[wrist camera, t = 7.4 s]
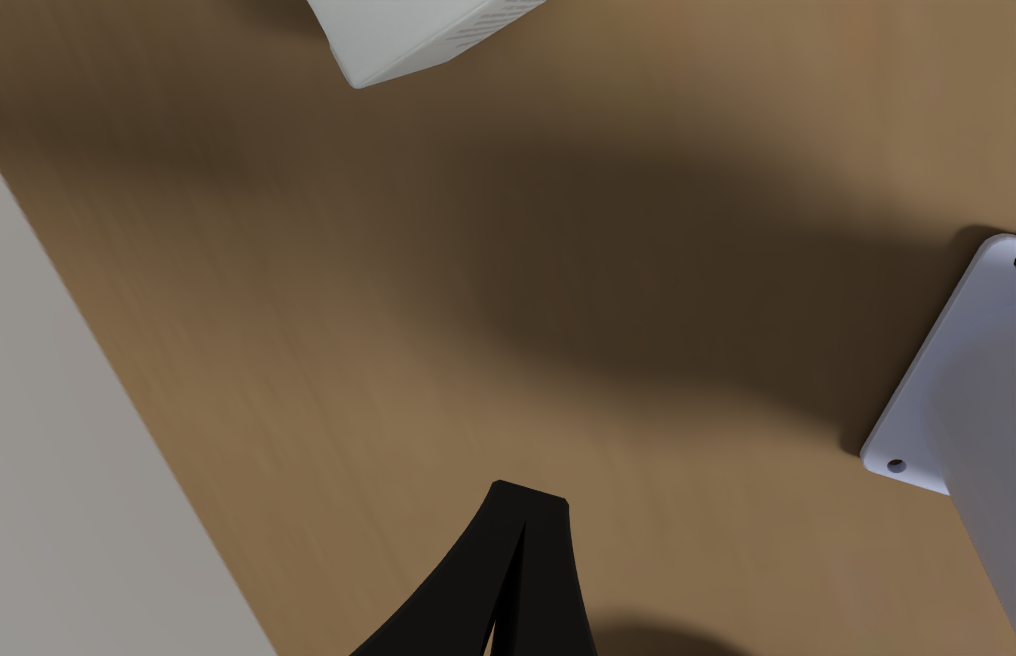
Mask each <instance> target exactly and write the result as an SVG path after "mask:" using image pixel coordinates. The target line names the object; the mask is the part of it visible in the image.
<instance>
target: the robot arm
mask: <svg viewBox="0 0 1016 656" xmlns="http://www.w3.org/2000/svg"><path fill="white" fill-rule="evenodd" d="M1015 258H1016V235H1013V234H1004V233H1002V234H998V235H994V236H992V237H990V238H988V239H987V240H985V241H984V242H983V244H982V245H981V246H980V247H979V249H978V251H977V252H976V254H975V256H974V258H973V259H972V261H971V263H970V264H969V266H968V268H967V270H966V271H965V273H964V275H963V276H962V278H961V280H960V281H959V283H958V285H957V287H956V288H955V290H954V292H953V293H952V295H951V297H950V299H949V300H948V302H947V304H946V305H945V307H944V309H943V310H942V312H941V314H940V316H939V317H938V319H937V321H936V322H935V324H934V326H933V328H932V329H931V331H930V333H929V334H928V336H927V338H926V339H925V341H924V343H923V345H922V346H921V348H920V350H919V351H918V353H917V355H916V357H915V358H914V360H913V362H912V363H911V365H910V367H909V368H908V370H907V372H906V374H905V375H904V377H903V379H902V380H901V382H900V384H899V386H898V387H897V389H896V391H895V392H894V394H893V396H892V398H891V399H890V401H889V403H888V404H887V406H886V408H885V409H884V411H883V413H882V415H881V416H880V418H879V420H878V421H877V423H876V425H875V427H874V428H873V430H872V432H871V433H870V435H869V437H868V438H867V440H866V442H865V444H864V445H863V447H862V449H861V451H860V458H861V461H862V464H863V466H864V467H865V468H866V469H867V470H869V471H871V472H873V473H877V474H880V475H883V476H886V477H890V478H893V479H896V480H900V481H903V482H906V483H909V484H913V485H916V486H919V487H922V488H926V489H929V490H932V491H936V492H939V493H942V494H945V495H949V496H951V498H952V501H953V503H954V505H955V507H956V509H957V511H958V513H959V515H960V518H961V520H962V522H963V524H964V526H965V528H966V530H967V532H968V534H969V537H970V539H971V541H972V543H973V545H974V547H975V549H976V551H977V554H978V556H979V558H980V560H981V562H982V564H983V566H984V568H985V571H986V573H987V575H988V577H989V579H990V581H991V583H992V585H993V587H994V590H995V592H996V594H997V596H998V598H999V600H1000V602H1001V604H1002V607H1003V609H1004V611H1005V613H1006V615H1007V617H1008V619H1009V621H1010V624H1011V626H1012V628H1013V630H1014V632H1015V634H1016V265H1014V260H1015ZM895 459H899V460H902V462H901V463H900V464H897V465H889V464H888V463H889V462H890V461H891V460H895ZM495 620H496V621H495ZM494 623H495V628H494V634H493V641H492V647H491V654H490V656H598V655H597V652H596V649H595V645H594V642H593V638H592V635H591V631H590V627H589V623H588V620H587V616H586V612H585V607H584V603H583V599H582V594H581V590H580V585H579V581H578V576H577V571H576V565H575V559H574V553H573V547H572V539H571V531H570V519H569V504H568V503H567V501H566V499H565V498H561V497H558V496H554V495H551V494H547V493H544V492H541V491H537V490H534V489H530V488H527V487H523V486H520V485H517V484H513V483H510V482H506V481H503V480H498V481H495V482H493V483H492V485H491V487H490V490H489V492H488V494H487V496H486V498H485V500H484V501H483V503H482V505H481V507H480V508H479V510H478V511H477V513H476V515H475V516H474V518H473V519H472V521H471V522H470V524H469V525H468V526H467V528H466V529H465V531H464V532H463V534H462V535H461V536H460V537H459V539H458V540H457V541H456V543H455V544H454V545H453V547H452V548H451V549H450V551H449V552H448V553H447V554H446V556H445V557H444V558H443V560H442V561H441V562H440V563H439V564H438V566H437V567H436V568H435V569H434V570H433V571H432V573H431V574H430V575H429V576H428V577H427V578H426V579H425V580H424V582H423V583H422V584H421V585H420V586H419V587H418V588H417V590H416V591H415V592H414V593H413V594H412V595H411V596H410V597H409V598H408V600H407V601H406V602H405V603H404V604H403V605H402V606H401V607H400V608H399V609H398V610H397V611H396V612H395V613H394V614H393V615H392V616H391V617H390V618H389V619H388V620H387V621H386V622H385V623H384V624H383V625H382V626H381V627H380V628H379V629H378V630H377V631H376V632H375V633H374V634H373V635H371V636H370V637H369V638H368V639H367V640H366V641H365V642H364V643H363V644H362V645H360V646H359V647H358V648H357V649H356V650H355V651H354V652H353V653H351V654H350V655H349V656H483V655H484V652H485V649H486V646H487V643H488V640H489V637H490V634H491V632H492V629H493V626H494Z"/></svg>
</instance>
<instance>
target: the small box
mask: <svg viewBox="0 0 1016 656" xmlns="http://www.w3.org/2000/svg"><path fill="white" fill-rule="evenodd" d="M307 1H308V3H309V5H310V6H311V8H312V10H313V12H314V13H315V15H316V17H317V19H318V21H319V23H320V25H321V26H322V28H323V30H324V32H325V34H326V36H327V38H328V40H329V43H330V49H331V51H332V53H333V55H334V57H335V59H336V61H337V63H338V65H339V67H340V69H341V71H342V73H343V75H344V76H345V78H346V80H347V81H348V83H349V84H350V86H352V87H353V88H356V89H360V88H364V87H367V86H370V85H374V84H377V83H380V82H384V81H387V80H390V79H394V78H397V77H400V76H404V75H407V74H410V73H414V72H417V71H420V70H423V69H427V68H430V67H433V66H436V65H439V64H442V63H445V62H447V61H449V60H451V59H452V58H454V57H456V56H457V55H459V54H461V53H462V52H464V51H466V50H467V49H469V48H471V47H472V46H474V45H475V44H477V43H479V42H480V41H482V40H484V39H485V38H487V37H488V36H490V35H492V34H493V33H495V32H496V31H498V30H500V29H501V28H503V27H505V26H506V25H508V24H509V23H511V22H513V21H514V20H516V19H518V18H519V17H521V16H522V15H524V14H526V13H527V12H529V11H531V10H532V9H534V8H536V7H537V6H539V5H540V4H542V3H544V2H545V1H547V0H307Z"/></svg>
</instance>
